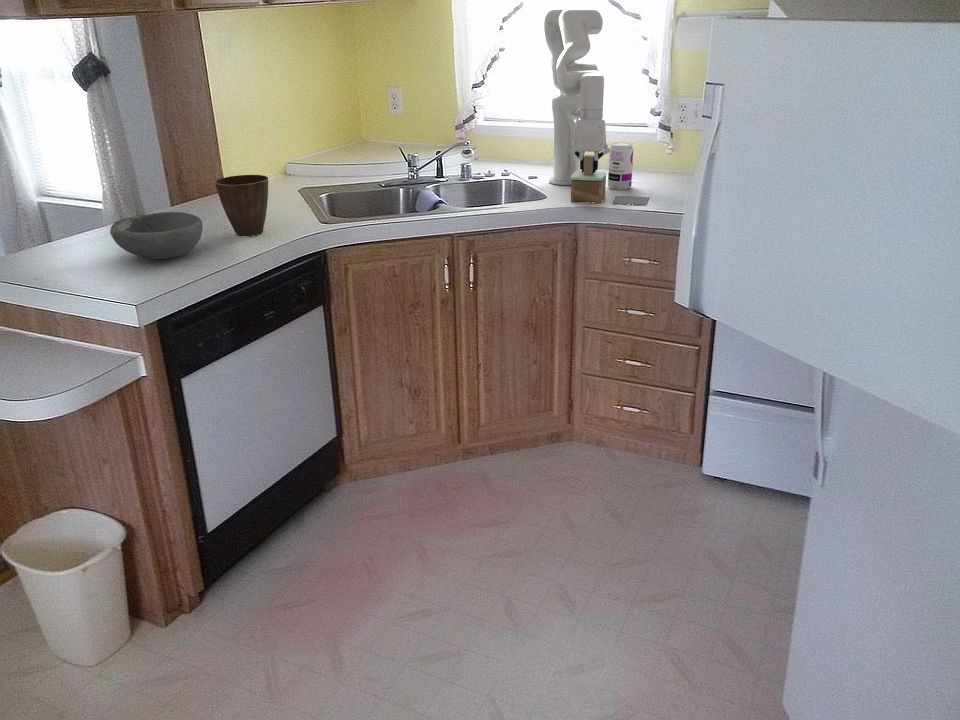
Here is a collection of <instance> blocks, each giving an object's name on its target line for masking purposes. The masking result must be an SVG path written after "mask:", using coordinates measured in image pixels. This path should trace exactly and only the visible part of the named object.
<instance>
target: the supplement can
mask: <svg viewBox="0 0 960 720" xmlns="http://www.w3.org/2000/svg"><path fill="white" fill-rule="evenodd" d="M632 144H633V143H630V142H613V143H611V145H610V147H608V148H609V150H610V152H609V153H608V173H607V174H608V175H607V177H608V178H607V187H608V188H609V189H612V190H615V189H617V190H616V191H623V190H624V189H625V190H629V189H630V188H631V187H632V181H633V165H634V164H633V162H634V147H633V145H632ZM625 190H624V191H625Z"/></svg>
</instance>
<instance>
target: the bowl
mask: <svg viewBox="0 0 960 720" xmlns="http://www.w3.org/2000/svg"><path fill="white" fill-rule="evenodd" d="M109 233H110V235H111V238H112V239H113V241H114V242H115V243H116V244H117V246H119V247H120V248H121V249H122V250H124V251H125V252H127V253H130V254H132V255H134V256H137V257H140V258H143V259H148V260H149V259H150V260H165V259H175V258H177V257H182V256H184V255H186V254H188V253H189V252H191V251H192V250H194V248H195V247H196V246H197V245H198V244H199V241H200V240H201V238H202V234H203V221H202V219H201V218H200V217H199V216H197V215H195V214H193V213H187V212H179V211H165V212H164V211H163V212H154V213H147V214H142V215H139V216H129V217H123V218H121V219H119V220H118V221H115V222H114V223H112V225H111V226H110V231H109Z"/></svg>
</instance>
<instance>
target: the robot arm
mask: <svg viewBox="0 0 960 720" xmlns="http://www.w3.org/2000/svg"><path fill="white" fill-rule="evenodd" d="M603 24H604V20H603V15H602V13H601V11H600V9H599V8H598V7H595V6H594V7H592V6H559V7H552V8H550V9H547V10H546V11H545V12H544V13H543V16H542V32H543V36H544V40H545V41H546V44H547V45H546V46H548V49H549V53H550V58H551V60H550V61H551V70H552V72H551V73H552V79H553V84H554V86H555V87H556V89H558V90H559V91H560V92H557V93H556V94H555V95H554V96H553V97H552V100H551V107H552V108H551V109H552V117H553V176H552V177H550V178H549V180H548V182H549V183H550V184H552V185H559V186H571V181H572V180H570V177H571V176H572V174H573V173H574V172H575V171H582V173H583V172H584V156H585V155H586V153H585V152H590V153H592V152H593V155H594V161H593V173H595V172H596V171H598V170H599V169H598V168H599V160H600V159H601V158H602V157H603V156H605V155H606V154H609V152H610V150H609V148H610V147H608V144H607V131H606V121H605V120H606V119H605V118H603V116H604V113H603V112H604V109H603V108H604V92H605V91H604V90H605V89H604V88H605V78H604V75H603V74H601V73H600V72H599V69H598V66H597V64H596V63H595V62H594V61H591V60H580V59H582V58H584V57H585V56H586V55H587V54H589V52H590V50H591V42H590V38H589V37H590V36H589V35H598V34H600V32H601V31H602V29H603Z"/></svg>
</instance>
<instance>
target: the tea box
mask: <svg viewBox="0 0 960 720" xmlns="http://www.w3.org/2000/svg"><path fill="white" fill-rule="evenodd" d="M606 183H607V175H606V176H605V177H604V179H603V180H602V181H576V180H572V181H571V185H570V203H578V202H590V203H589V204H602V203H603V201H604V199H605V198H604V197H606V186H607V185H606ZM602 200H603V201H602ZM592 202H593V203H592ZM594 202H595V203H594ZM601 202H602V203H601Z"/></svg>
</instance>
